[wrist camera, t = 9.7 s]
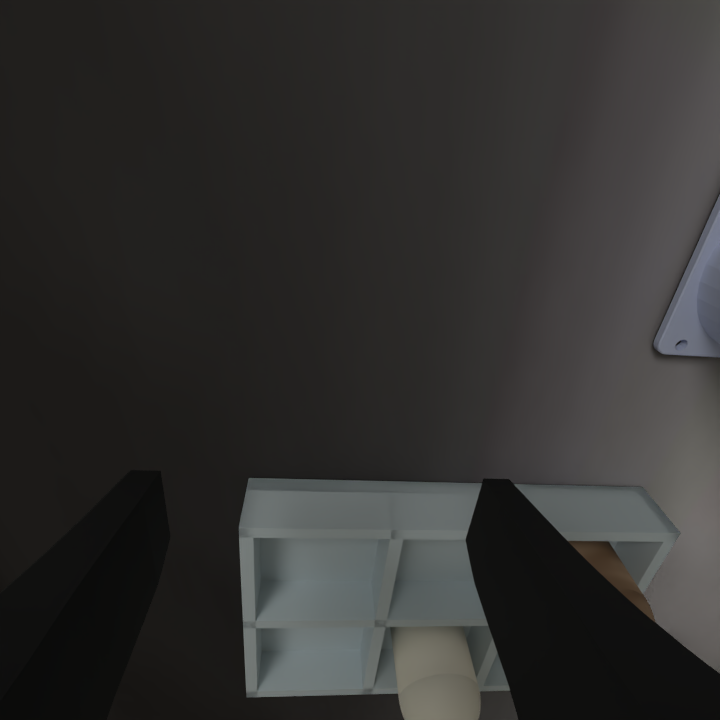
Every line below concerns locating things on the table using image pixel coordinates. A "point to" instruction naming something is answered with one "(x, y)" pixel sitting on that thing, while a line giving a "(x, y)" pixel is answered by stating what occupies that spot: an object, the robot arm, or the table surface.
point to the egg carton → (394, 572)
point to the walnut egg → (613, 571)
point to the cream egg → (435, 673)
